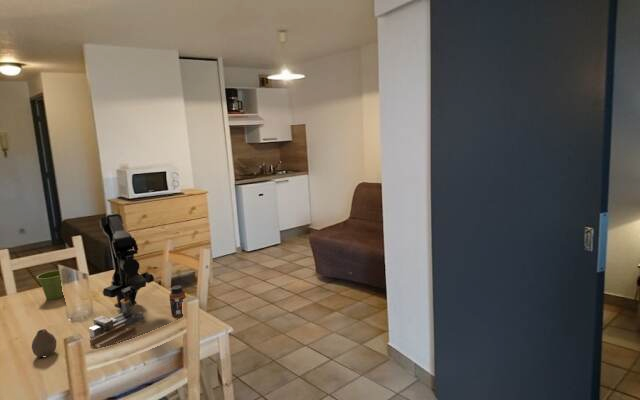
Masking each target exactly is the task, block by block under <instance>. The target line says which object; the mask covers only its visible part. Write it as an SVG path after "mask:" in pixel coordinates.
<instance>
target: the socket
mask: <svg viewBox="0 0 640 400" xmlns="http://www.w3.org/2000/svg"><path fill="white" fill-rule="evenodd" d="M130 312H131V316H130V317H128V318H126V319H124V320H121V321H119V322H117V323H115V324H113V320H112V319H111V318H114V319H116V318H118V317H121V316H123V313H119V314H117V315H115V316H112V317H110V318H108V317H105V316H102V315H100V316H97V317H95V318H93V321H92V322H93V326H95V325H97V324H102V325H103V329H102V332H103V333H105V332H107V331H109V330H112V329H114V328H116V327H118V326H120V325H122V324H126V327H129V326H130V325H133V324H135V323H137V322H139V321H141V320H143V319H145V316H144V312H142V311H139V312H137V313H135V309H133V308H130Z"/></svg>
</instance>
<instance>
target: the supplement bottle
mask: <svg viewBox="0 0 640 400" xmlns="http://www.w3.org/2000/svg"><path fill="white" fill-rule="evenodd" d="M184 298H186V292H185V291H184V290H183V288H182V286H181V285H174V286H172V287H171V292H170V293H169V304H170V312H171V316H172V317H181V316H183V315H182V302H183V299H184Z"/></svg>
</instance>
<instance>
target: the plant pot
mask: <svg viewBox="0 0 640 400" xmlns="http://www.w3.org/2000/svg"><path fill="white" fill-rule="evenodd" d="M59 270H60V269H59ZM59 270H58V269H57V270H51V271H46V272H44V273H41V274H39V275H37V276H36V279H37V280H38V282H39V283H40V286H41V287H42V290H43V293H44V296H45V299H46V300H57V299H60V298H62V297H64V296H63V292H62V286H61V280H60V274H59Z"/></svg>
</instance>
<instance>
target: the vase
mask: <svg viewBox="0 0 640 400" xmlns="http://www.w3.org/2000/svg"><path fill="white" fill-rule="evenodd" d="M56 349H57V339H56V338H55V336H54V335H53V334H52V333H51V332H49V331H47V330H46V329H44V328H43V329H39V330H38V331H37V332H36V334H35V337H34V338H33V339H32V342H31V350H32V353H33V355H34V356H36V357H37V358H39V357H43V356H48V355H50V356H52V355H53V354H54V353H55V351H56ZM52 353H53V354H52ZM51 354H52V355H51ZM48 357H49V356H48Z"/></svg>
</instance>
